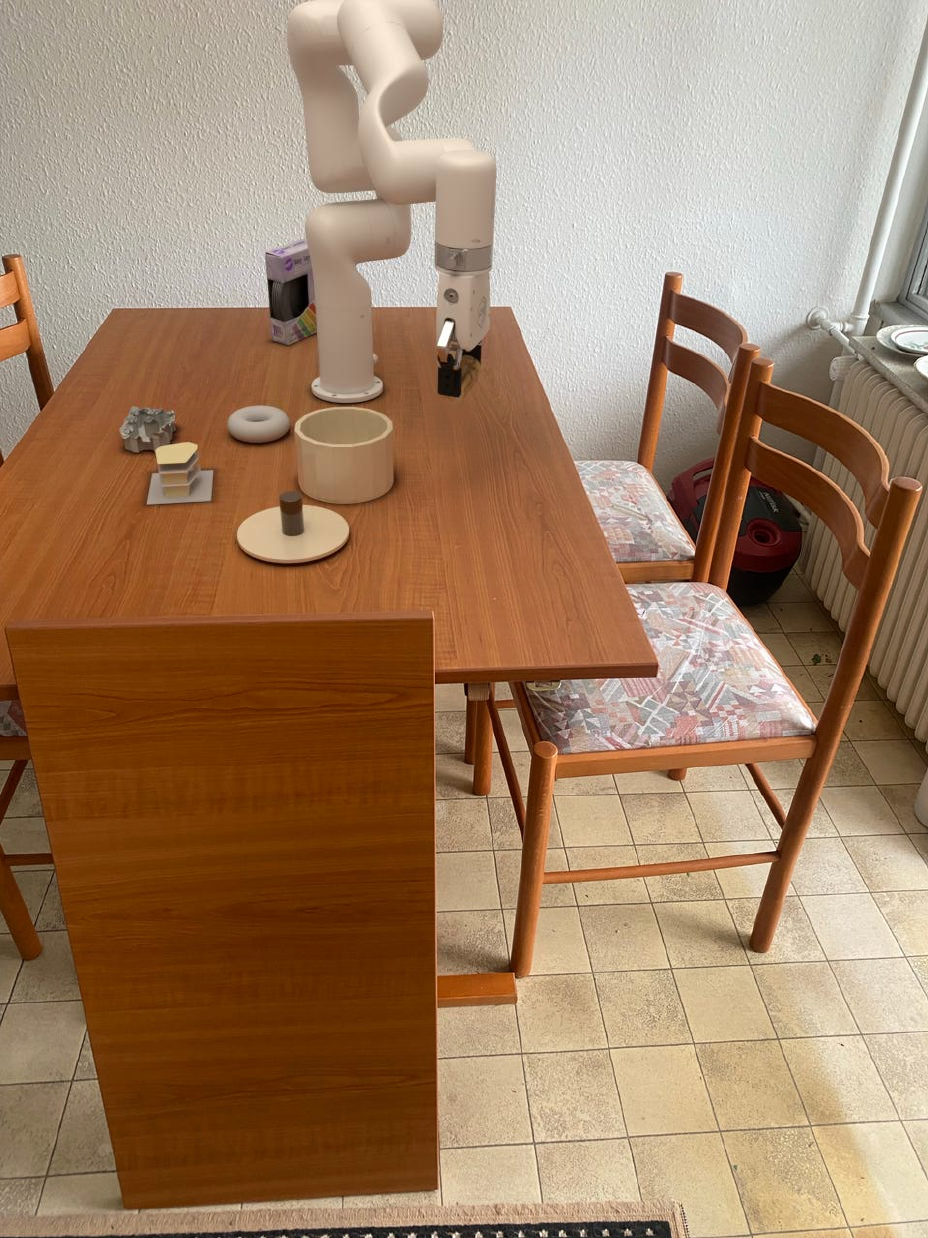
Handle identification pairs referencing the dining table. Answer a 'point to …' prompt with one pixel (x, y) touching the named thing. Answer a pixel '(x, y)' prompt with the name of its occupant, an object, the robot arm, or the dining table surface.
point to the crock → (344, 454)
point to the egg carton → (147, 429)
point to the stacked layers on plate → (179, 476)
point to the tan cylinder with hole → (467, 376)
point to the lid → (292, 532)
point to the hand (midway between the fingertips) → (459, 382)
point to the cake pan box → (291, 292)
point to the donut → (258, 424)
